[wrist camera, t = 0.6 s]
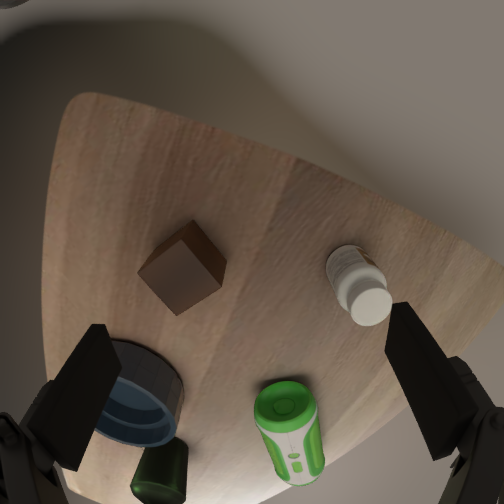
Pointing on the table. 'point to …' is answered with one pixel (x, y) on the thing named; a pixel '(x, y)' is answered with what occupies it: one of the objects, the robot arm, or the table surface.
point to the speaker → (291, 431)
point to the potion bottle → (162, 474)
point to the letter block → (184, 269)
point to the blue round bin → (142, 400)
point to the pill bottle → (359, 285)
